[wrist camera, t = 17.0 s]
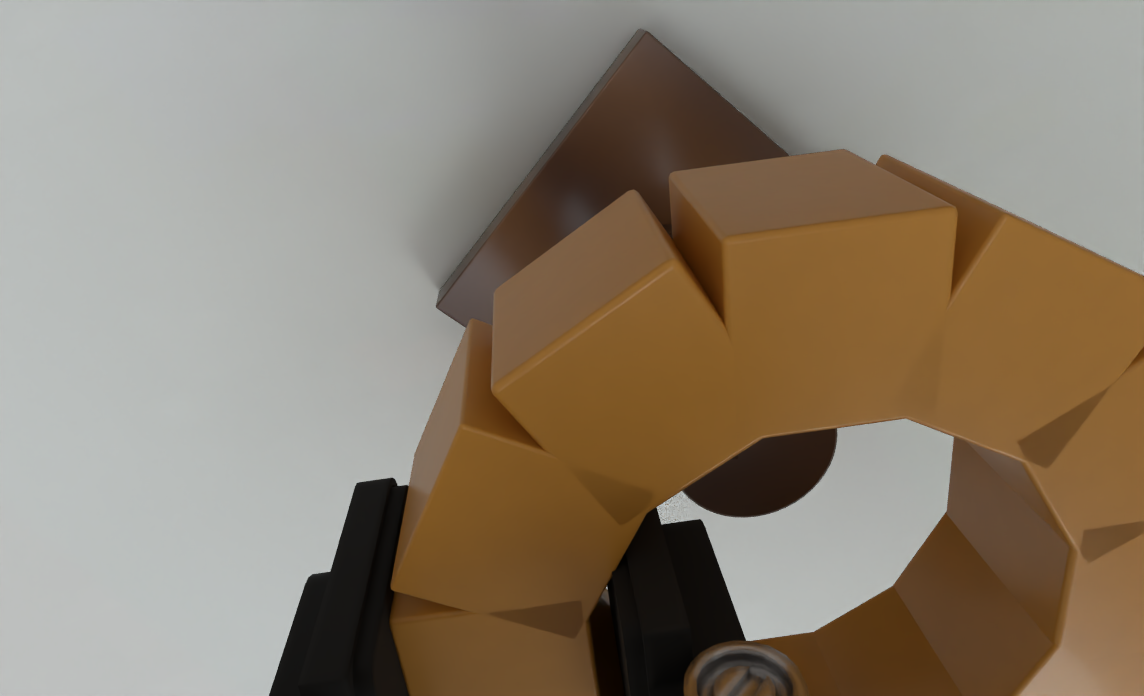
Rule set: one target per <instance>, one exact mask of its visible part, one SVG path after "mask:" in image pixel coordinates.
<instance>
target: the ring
mask: <svg viewBox="0 0 1144 696" xmlns="http://www.w3.org/2000/svg"><path fill="white" fill-rule="evenodd" d="M669 192H670V208H671V223H672V238H673V240H672V238H671V237H670V235H669V234H668V233H667V231H666V230H665V229H664V227H663V226H662V224H661V223H660V222H659V220H658V219H657V217H656V216H655V215H654V213H653V212H652V210H651V209H650V208H649V206H648V205H647V204H646V202H645V201H644V199H643V198H642V197H641V195H640V194H639V192H637V191H635V190H634V189H633V190H630V191H627V192H626V193H625V194H623V195H622V196H621V197H619V198H618V199H617V200H615V201H614V202H613V203H611V204H610V205H609V206H607V207H606V208H605V209H603V210H602V211H600V212H599V213H598V214H596V215H595V216H594V217H592V218H591V219H590V220H588V221H587V222H586V223H584V224H583V225H582V226H580V227H579V228H578V229H576V230H575V231H574V232H572V233H571V234H569V235H568V236H567V237H565V238H564V239H563V240H561V241H560V242H559V243H557V244H556V245H555V246H553V247H552V248H551V249H549V250H548V251H547V252H545V253H544V254H542V255H541V256H540V257H538V258H537V259H536V260H534V261H533V262H532V263H530V264H529V265H528V266H526V267H525V268H524V269H522V270H521V271H520V272H518V273H517V274H516V275H514V276H513V277H511V278H510V279H509V280H507V281H506V282H505V283H503V284H502V285H501V286H499V287H498V288H497V289H496V290H495V292H494V299H493V325H490V324H487V323H484V322H482V321H479V320H476V319H470V320H469V322H468V325H467V327H466V330H465V332H464V335H463V337H462V339H461V342H460V344H459V347H458V349H457V352H456V354H455V357H454V359H453V361H452V364H451V366H450V369H449V371H448V374H447V376H446V379H445V381H444V383H443V386H442V388H441V391H440V393H439V396H438V398H437V400H436V403H435V405H434V408H433V410H432V413H431V415H430V418H429V420H428V422H427V425H426V427H425V430H424V432H423V435H422V437H421V440H420V442H419V444H418V447H417V449H416V452H415V455H414V461H413V466H412V472H411V477H410V482H409V488H408V493H407V499H406V504H405V510H404V515H403V520H402V526H401V531H400V537H399V542H398V547H397V553H396V558H395V564H394V569H393V574H392V580H391V585H390V586H391V590H393V591H394V596H393V601H392V607H391V613H390V618H389V625H390V629H391V633H392V637H393V640H394V644H395V647H396V651H397V655H398V658H399V662H400V666H401V669H402V673H403V676H404V680H405V684H406V687H407V691H408V694H409V696H625V693H624V687H623V681H622V675H621V669H620V663H619V657H618V651H617V645H616V639H615V633H614V627H613V621H612V615H611V609H610V602H609V595H608V590H607V589H606V586H607V584H608V583H609V581H610V579H611V577H612V571H615V570H616V568H617V566H618V564H619V563H620V561H621V559H622V557H623V555H624V554H625V552H626V550H627V548H628V546H629V545H630V543H631V541H632V539H633V537H634V536H635V534H636V532H637V530H638V528H639V527H640V525H641V523H642V521H643V519H644V518H645V516H646V514H647V513H648V512H649V511H651V510H652V509H654V508H656V507H657V506H659V505H660V504H662V503H663V502H665V501H666V500H668V499H670V498H671V497H673V496H674V495H676V494H677V493H679V492H680V491H682V490H684V489H685V488H687V487H688V486H690V485H691V484H693V483H694V482H696V481H697V480H699V479H701V478H702V477H704V476H705V475H707V474H708V473H710V472H711V471H713V470H715V469H716V468H718V467H719V466H721V465H722V464H724V463H725V462H727V461H729V460H730V459H732V458H733V457H735V456H736V455H738V454H739V453H741V452H742V451H744V450H746V449H747V448H749V447H750V446H752V445H753V444H755V443H756V442H758V441H760V440H761V439H763V438H769V437H776V436H784V435H791V434H798V433H805V432H812V431H819V430H827V429H834V428H841V427H848V426H855V425H862V424H870V423H877V422H884V421H891V420H898V419H909V420H911V421H914V422H916V423H919V424H922V425H924V426H927V427H930V428H932V429H935V430H938V431H940V432H943V433H945V434H948V435H951V436H953V437H954V442H953V452H952V462H951V473H950V483H949V493H948V504H947V511H946V513H945V514H944V516H943V517H942V518H941V520H940V521H939V522H938V524H937V525H936V527H935V528H934V529H933V531H932V532H931V534H930V535H929V536H928V538H927V539H926V541H925V542H924V543H923V545H922V546H921V547H920V549H919V550H918V552H917V553H916V554H915V556H914V557H913V559H912V560H911V561H910V563H909V564H908V565H907V567H906V568H905V570H904V571H903V572H902V574H901V575H900V577H899V578H898V579H897V581H896V582H895V583H894V585H893V586H892V587H890V588H888V589H887V590H885V591H883V592H882V593H880V594H878V595H876V596H875V597H873V598H871V599H870V600H868V601H866V602H864V603H863V604H861V605H859V606H858V607H856V608H854V609H852V610H851V611H849V612H847V613H846V614H844V615H842V616H840V617H839V618H837V619H835V620H833V621H832V622H830V623H828V624H827V625H825V626H823V627H821V628H820V629H818V630H816V631H815V632H810V633H803V634H796V635H789V636H782V637H775V638H768V639H761V640H755V641H753V642H757V643H761V644H764V645H768V646H771V647H773V648H774V649H776V650H778V651H780V652H782V653H783V654H785V655H786V656H787V657H788V658H789V659H790V660H791V661H793V662H794V663H795V664H796V665H797V666H798V668H799V670H800V672H801V674H802V676H803V678H804V679H805V682H806V685H807V688H808V691H809V694H810V696H1144V276H1143V275H1141V274H1139V273H1137V272H1134V271H1132V270H1130V269H1128V268H1126V267H1124V266H1122V265H1120V264H1118V263H1116V262H1114V261H1111V260H1109V259H1107V258H1105V257H1103V256H1101V255H1099V254H1097V253H1095V252H1093V251H1090V250H1088V249H1086V248H1084V247H1082V246H1080V245H1078V244H1076V243H1074V242H1072V241H1070V240H1067V239H1065V238H1063V237H1061V236H1059V235H1057V234H1055V233H1053V232H1051V231H1049V230H1047V229H1044V228H1042V227H1040V226H1038V225H1036V224H1034V223H1032V222H1030V221H1028V220H1026V219H1023V218H1021V217H1019V216H1017V215H1015V214H1013V213H1011V212H1008V211H1006V210H1004V209H1002V208H1000V207H998V206H996V205H993V204H991V203H989V202H987V201H985V200H983V199H981V198H979V197H976V196H974V195H972V194H970V193H968V192H966V191H964V190H961V189H959V188H957V187H955V186H953V185H951V184H949V183H946V182H944V181H942V180H940V179H938V178H936V177H934V176H931V175H929V174H927V173H925V172H923V171H921V170H919V169H916V168H914V167H912V166H910V165H908V164H906V163H904V162H901V161H899V160H897V159H895V158H893V157H891V156H889V155H881V156H880V158H879V160H878V161H877V163H876V165H875V164H873V163H871V162H869V161H867V160H865V159H863V158H861V157H859V156H858V155H856V154H854V153H852V152H850V151H848V150H845V149H840V150H832V151H825V152H817V153H809V154H802V155H794V156H787V157H779V158H772V159H764V160H757V161H749V162H742V163H734V164H727V165H719V166H711V167H704V168H696V169H689V170H681V171H674V172H672V173H670V175H669Z"/></svg>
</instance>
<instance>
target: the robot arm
mask: <svg viewBox="0 0 1144 696" xmlns="http://www.w3.org/2000/svg"><path fill="white" fill-rule="evenodd" d="M408 488H409V486H408V485H404V486H397V483H396V481H395V479H394V478H387V479H380V480H373V481H366V482H359V483H357V484H356V486H355V489H354V493H353V496H352V499H351V503H350V506H349V510H348V513H347V517H346V520H345V524H344V527H343V530H342V534H341V537H340V541H339V544H338V548H337V551H336V555H335V558H334V561H333V565H332V568H331V572H326V573H319V574H312V575H311V576H310V577H309V578H308V580H307V582H306V584H305V587H304V590H303V593H302V596H301V599H300V602H299V605H298V608H297V611H296V614H295V617H294V621H293V624H292V627H291V630H290V633H289V636H288V639H287V642H286V645H285V648H284V651H283V654H282V657H281V660H280V663H279V667H278V670H277V673H276V676H275V679H274V682H273V685H272V688H271V691H270V694H269V696H409V694H408V691H407V687H406V684H405V680H404V676H403V673H402V669H401V666H400V662H399V658H398V655H397V651H396V647H395V644H394V640H393V637H392V633H391V629H390V625H389V618H390V613H391V607H392V601H393V596H394V591H393V590H391V586H390V585H391V580H392V574H393V569H394V564H395V558H396V553H397V547H398V542H399V537H400V531H401V526H402V520H403V515H404V510H405V504H406V499H407V493H408ZM607 587H608V595H609V602H610V609H611V615H612V621H613V627H614V633H615V639H616V645H617V651H618V657H619V663H620V669H621V675H622V681H623V687H624V693H625V696H810V694H809V691H808V688H807V685H806V682H805V679H804V678H803V676H802V674H801V672H800V670H799V668H798V666H797V665H796V664H795V663H794V662H793V661H791V660H790V659H789V658H788V657H787V656H786V655H785V654H783V653H782V652H780V651H778V650H776V649H774V648H773V647H771V646H768V645H764V644H761V643H757V642H753V641H746V639H745V637H744V634H743V631H742V628H741V625H740V623H739V620H738V617H737V614H736V612H735V609H734V606H733V603H732V601H731V598H730V595H729V592H728V589H727V587H726V584H725V581H724V578H723V576H722V573H721V570H720V567H719V565H718V562H717V559H716V556H715V553H714V551H713V548H712V545H711V542H710V540H709V537H708V534H707V531H706V528H705V526H704V524H703V522H702V521H701V520H700V519H698V520H691V521H684V522H677V523H670V524H663V525H661V522H660V519H659V515H658V511H657V508H654V509H652V510H651V511H649V512H648V513H647V514H646V516H645V518H644V519H643V521H642V523H641V525H640V527H639V528H638V530H637V532H636V534H635V536H634V537H633V539H632V541H631V543H630V545H629V546H628V548H627V550H626V552H625V554H624V555H623V557H622V559H621V561H620V563H619V564H618V566H617V568H616V570H615V571H612V577H611V579H610V581H609V583H608V584H607Z"/></svg>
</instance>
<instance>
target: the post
mask: <svg viewBox="0 0 1144 696" xmlns="http://www.w3.org/2000/svg"><path fill="white" fill-rule="evenodd" d="M787 156H790V155H788V154H787V153H786V152H785V151H784V150H783V149H782V148H780V147H779V146H778V145H777V144H776V143H775V142H774V141H772V140H771V139H770V138H769V137H768V136H767V135H766V134H764V133H763V132H762V131H761V130H760V129H759V128H758V127H756V126H755V125H754V124H753V123H752V122H751V121H750V120H748V119H747V118H746V117H745V116H744V115H743V114H742V113H740V112H739V111H738V110H737V109H736V108H735V107H734V106H732V105H731V104H730V103H729V102H728V101H727V100H726V99H724V98H723V97H722V96H721V95H720V94H719V93H718V92H716V91H715V90H714V89H713V88H712V87H711V86H710V85H708V84H707V83H706V82H705V81H704V80H703V79H702V78H700V77H699V76H698V75H697V74H696V73H695V72H694V71H692V70H691V69H690V68H689V67H688V66H687V65H686V64H684V63H683V62H682V61H681V60H680V59H679V58H678V57H676V56H675V55H674V54H673V53H672V52H671V51H670V50H668V49H667V48H666V47H665V46H664V45H663V44H662V43H660V42H659V41H658V40H657V39H656V38H655V37H654V36H652V35H651V34H650V33H649V32H647V31H645V30H643V29H638V31H637V32H636V33H635V35H634V36H633V37H632V39H631V40H630V41H629V43H628V44H627V45H626V47H625V48H624V49H623V50H622V52H621V53H620V54H619V56H618V57H617V58H616V60H615V61H614V62H613V64H612V65H611V66H610V68H609V69H608V70H607V71H606V73H605V74H604V75H603V77H602V78H601V79H600V81H599V82H598V83H597V85H596V86H595V87H594V89H593V90H592V91H591V93H590V94H589V95H588V96H587V98H586V99H585V100H584V102H583V103H582V104H581V106H580V107H579V108H578V110H577V111H576V112H575V114H574V115H573V116H572V117H571V119H570V120H569V121H568V123H567V124H566V125H565V127H564V128H563V129H562V131H561V132H560V133H559V135H558V136H557V137H556V139H555V140H554V141H553V142H552V144H551V145H550V146H549V148H548V149H547V150H546V152H545V153H544V154H543V156H542V157H541V158H540V160H539V161H538V162H537V163H536V165H535V166H534V167H533V169H532V170H531V171H530V173H529V174H528V175H527V177H526V178H525V179H524V181H523V182H522V183H521V185H520V186H519V187H518V188H517V190H516V191H515V192H514V194H513V195H512V196H511V198H510V199H509V200H508V202H507V203H506V204H505V206H504V207H503V208H502V209H501V211H500V212H499V213H498V215H497V216H496V217H495V219H494V220H493V221H492V223H491V224H490V225H489V227H488V228H487V229H486V231H485V232H484V233H483V234H482V236H481V237H480V238H479V240H478V241H477V242H476V244H475V245H474V246H473V248H472V249H471V250H470V252H469V253H468V254H467V255H466V257H465V258H464V259H463V261H462V262H461V263H460V265H459V266H458V267H457V269H456V270H455V271H454V273H453V274H452V275H451V277H450V278H449V279H448V280H447V282H446V283H445V284H444V286H443V287H442V288H441V290H440V291H439V294H438V299H437V304H436V308H437V309H439V310H440V311H442V312H443V313H445V314H446V315H448V316H449V317H451V318H452V319H454V320H455V321H457V322H458V323H460V324H461V325H463V326H464V327H467V325H468V322H469V320H470V319H476V320H479V321H482V322H484V323H487V324H490V325H493V299H494V292H495V290H496V289H497V288H498V287H499V286H501V285H502V284H503V283H505V282H506V281H507V280H509V279H510V278H511V277H513V276H514V275H516V274H517V273H518V272H520V271H521V270H522V269H524V268H525V267H526V266H528V265H529V264H530V263H532V262H533V261H534V260H536V259H537V258H538V257H540V256H541V255H542V254H544V253H545V252H547V251H548V250H549V249H551V248H552V247H553V246H555V245H556V244H557V243H559V242H560V241H561V240H563V239H564V238H565V237H567V236H568V235H569V234H571V233H572V232H574V231H575V230H576V229H578V228H579V227H580V226H582V225H583V224H584V223H586V222H587V221H588V220H590V219H591V218H592V217H594V216H595V215H596V214H598V213H599V212H600V211H602V210H603V209H605V208H606V207H607V206H609V205H610V204H611V203H613V202H614V201H615V200H617V199H618V198H619V197H621V196H622V195H623V194H625V193H626V192H627V191H630V190H633V189H634V190H635V191H637V192H639V194H640V195H641V197H642V198H643V199H644V201H645V202H646V204H647V205H648V206H649V208H650V209H651V210H652V212H653V213H654V215H655V216H656V217H657V219H658V220H659V222H660V223H661V224H662V226H663V227H664V229H665V230H666V231H667V233H668V234H669V235H670V237H671V238H672V223H671V208H670V192H669V175H670V173H672V172H674V171H681V170H689V169H696V168H704V167H711V166H719V165H727V164H734V163H742V162H749V161H757V160H764V159H772V158H779V157H787ZM672 240H673V238H672ZM836 442H837V428H834V429H827V430H819V431H812V432H805V433H798V434H791V435H784V436H776V437H769V438H763V439H761V440H760V441H758V442H756V443H755V444H753V445H752V446H750V447H749V448H747V449H746V450H744V451H742V452H741V453H739V454H738V455H736V456H735V457H733V458H732V459H730V460H729V461H727V462H725V463H724V464H722V465H721V466H719V467H718V468H716V469H715V470H713V471H711V472H710V473H708V474H707V475H705V476H704V477H702V478H701V479H699V480H697V481H696V482H694V483H693V484H691V485H690V486H688V487H687V488H685V489H684V490H682V491H683V492H684V493H685V495H686V496H687V497H688V498H689V499H691V500H692V501H693V502H695V503H696V504H697V505H699V506H701V507H703V508H704V509H706V510H709V511H711V512H714V513H716V514H720V515H724V516H730V517H756V516H761V515H766V514H770V513H773V512H776V511H779V510H781V509H783V508H786V507H788V506H789V505H791V504H793V503H795V502H797V501H798V500H799V499H801V498H802V497H804V496H805V495H806V494H807V493H808V492H810V491H811V490H812V489H813V488H814V487H815V486H816V485H817V483H818V482H819V481H820V480H821V479H822V477H823V476H824V474H825V473H826V471H827V469H828V468H829V466H830V464H831V461H832V459H833V456H834V453H835V449H836Z"/></svg>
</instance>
